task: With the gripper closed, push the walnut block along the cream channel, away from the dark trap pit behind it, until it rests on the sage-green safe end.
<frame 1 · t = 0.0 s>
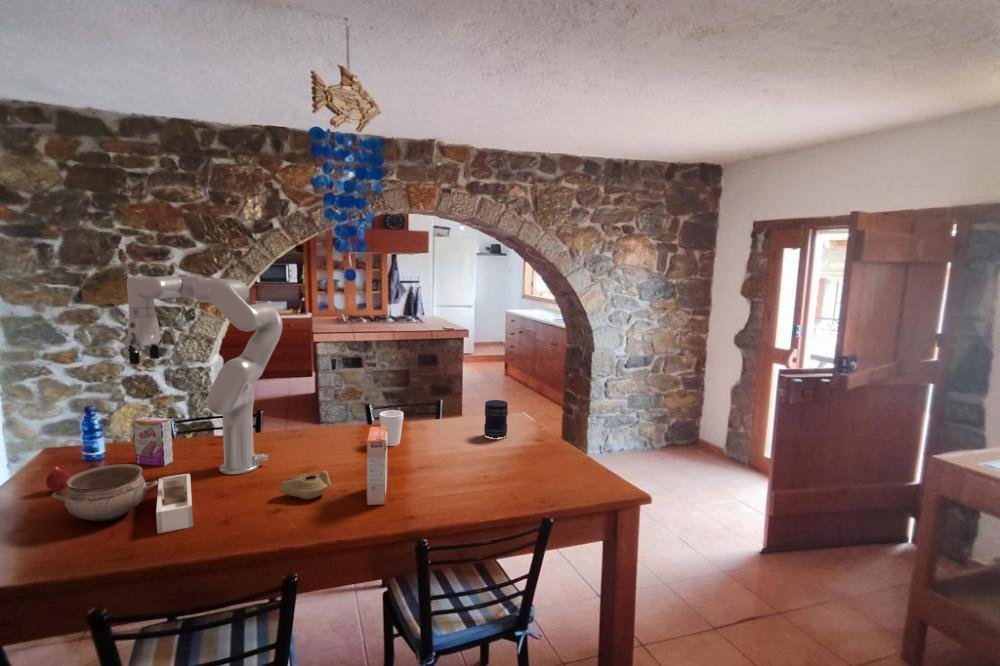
hand: (145, 361, 190), 37 cm above the table, tool pointing down, fingers open, 9 cm apart
cracker box: (377, 496, 174), on the table
oil lamp: (306, 497, 173), on the table
walnut block: (175, 499, 161), point 3 cm above the table, touching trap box
storage jar: (495, 437, 235), on the table
candy bar box: (154, 463, 196), on the table
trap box: (175, 512, 160), on the table
foam cup: (391, 445, 222), on the table
cooking pot: (108, 517, 156), on the table
onion: (59, 492, 171), on the table
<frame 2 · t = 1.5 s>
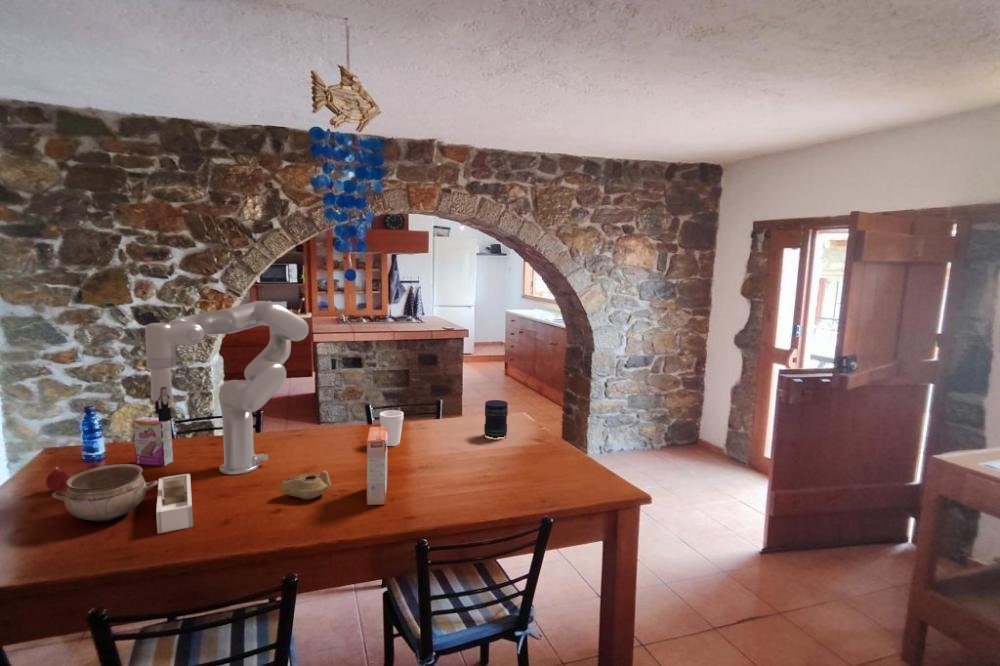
hand: (163, 416, 171), 24 cm above the table, tool pointing down, fingers open, 9 cm apart
nothing on the table moved.
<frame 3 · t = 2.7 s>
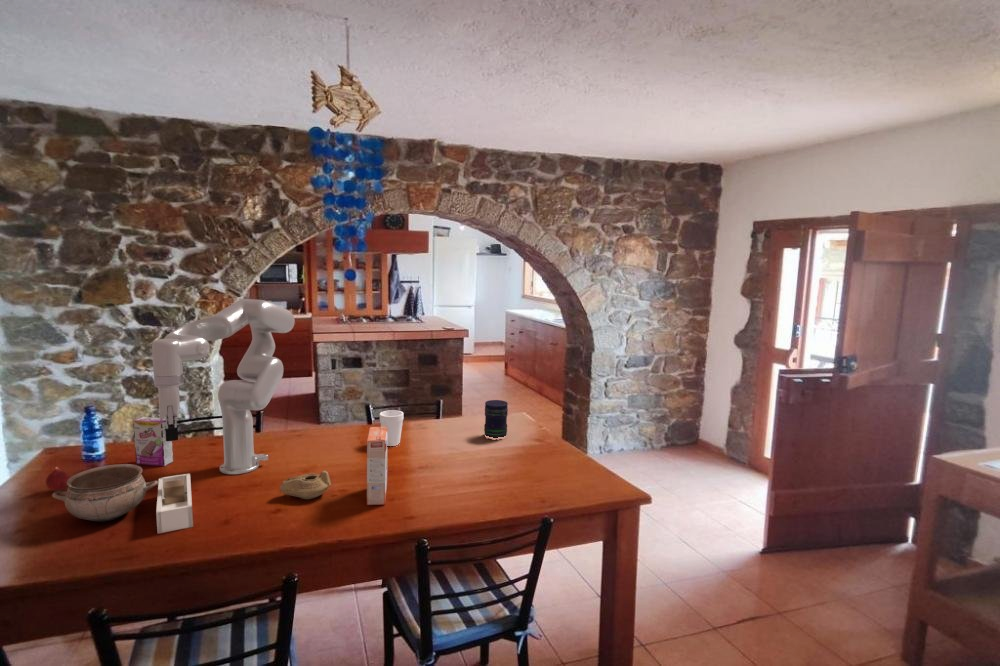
hand: (172, 439, 166), 19 cm above the table, tool pointing down, fingers closed
nothing on the table moved.
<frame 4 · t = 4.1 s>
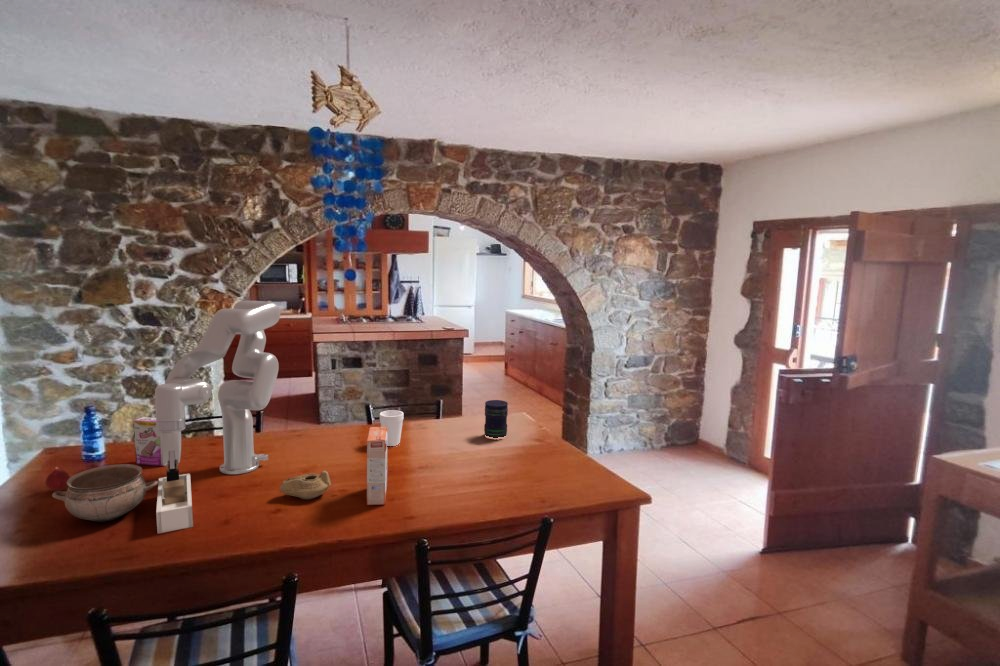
hand: (173, 482, 167), 5 cm above the table, tool pointing down, fingers closed
nothing on the table moved.
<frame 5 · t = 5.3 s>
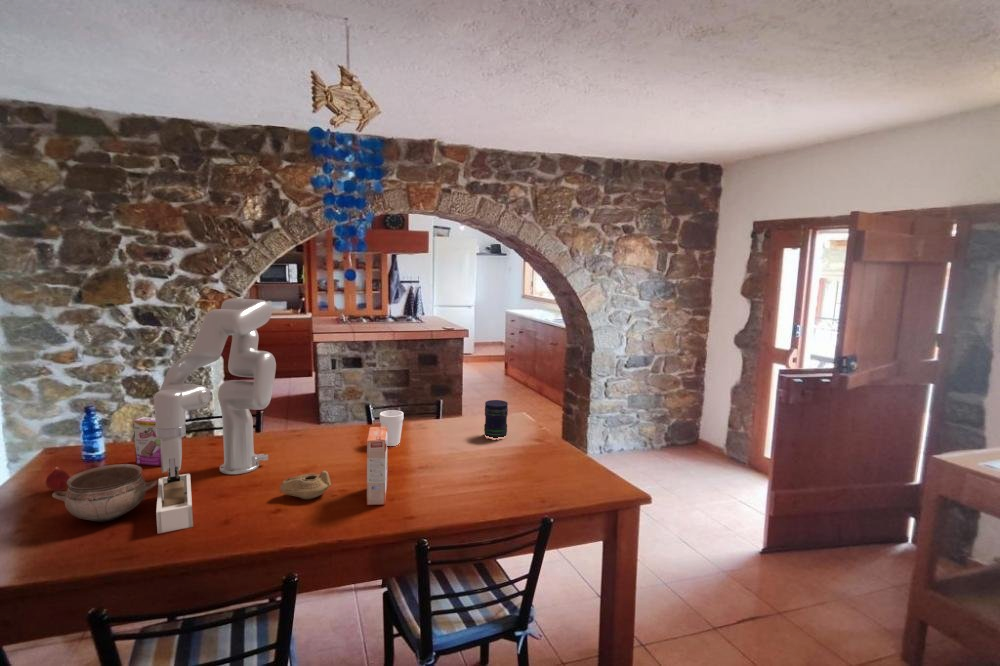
hand: (174, 490, 164), 4 cm above the table, tool pointing down, fingers closed
walnut block: (174, 501, 160), point 3 cm above the table, touching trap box
everything else where it was.
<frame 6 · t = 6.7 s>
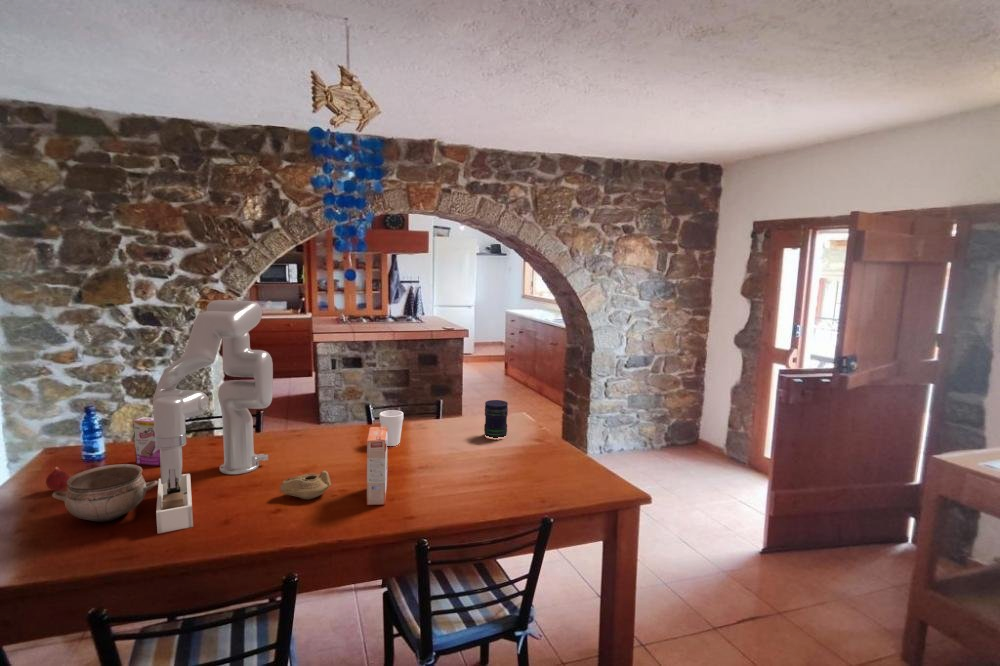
hand: (174, 501, 157), 4 cm above the table, tool pointing down, fingers closed
walnut block: (173, 513, 153), point 3 cm above the table, touching gripper, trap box
everything else where it was.
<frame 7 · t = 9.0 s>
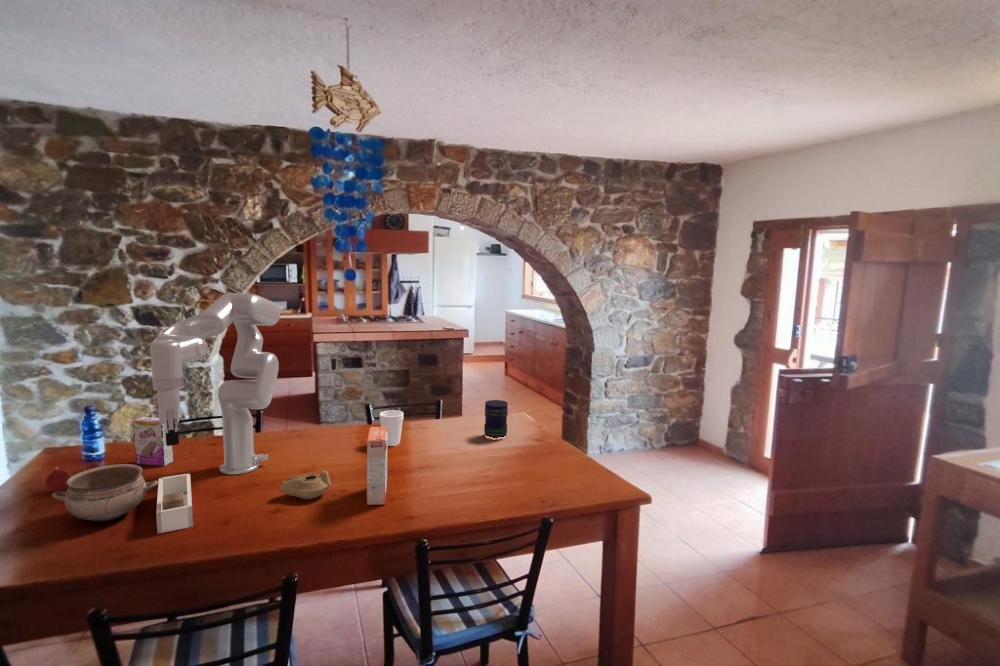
hand: (172, 444, 159), 20 cm above the table, tool pointing down, fingers closed
walnut block: (173, 514, 152), point 3 cm above the table, touching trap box
everything else where it was.
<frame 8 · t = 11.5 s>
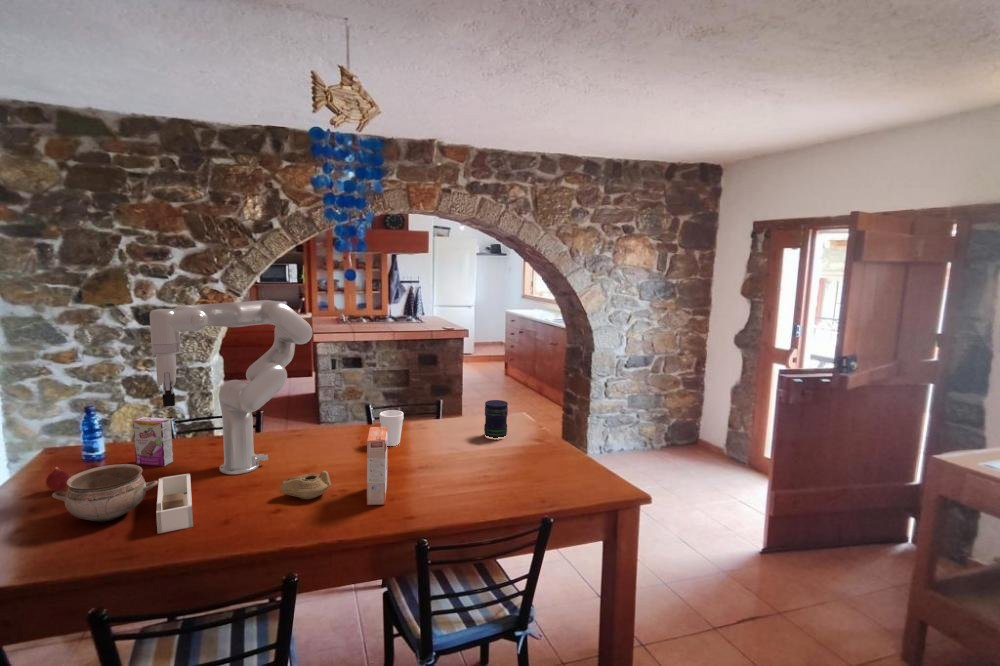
hand: (169, 405, 173), 27 cm above the table, tool pointing down, fingers closed
nothing on the table moved.
at the end: walnut block 1.1 cm from the target spot on the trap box, point 3.0 cm above the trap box's base; walnut block tilted 0°; walnut block moved 10.3 cm from its start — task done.
